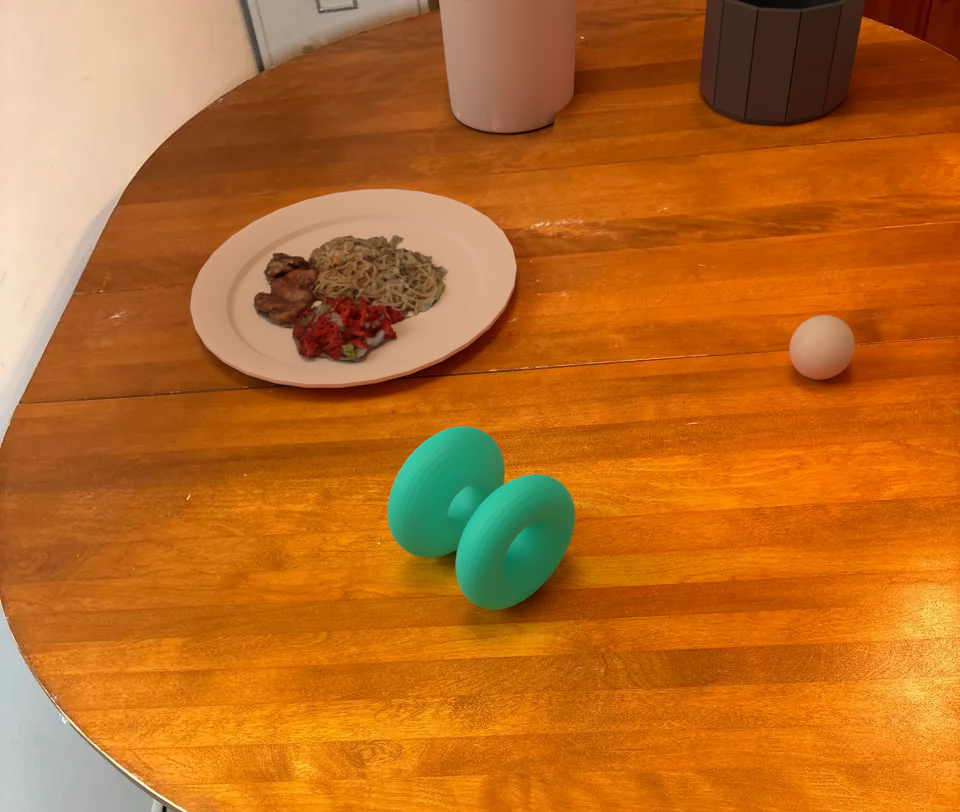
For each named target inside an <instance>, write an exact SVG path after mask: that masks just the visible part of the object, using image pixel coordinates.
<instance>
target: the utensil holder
mask: <svg viewBox="0 0 960 812" xmlns="http://www.w3.org/2000/svg"><path fill="white" fill-rule="evenodd" d="M438 4H439V13H440V21H441V30H442V40H443V50H444V51H443V52H444V61H445V68H446V75H447V84H448V92H449V93H448V94H449V101H450V106H451V111H452V114H453V116H454V117H455V118H456V119H457V120H458V121H459V122H460V123H461V124H463V125H465V126H467V127H469V128H472V129H474V130H477V131H482V132H487V133H495V134H515V133H523V132H529V131H534V130H537V129H540V128H544V127H546V126H549V125H551V124H553V123H555V122H556V116H557V113H558V112H560V111H561V110H562V109H564V108H565V107H566V106H567V105H568V104H569V103H570V102H571V100H572V99H573V96H574V93H575V92H574V91H575V69H576V68H575V67H576V46H577V43H576V42H577V38H576V37H577V0H438Z"/></svg>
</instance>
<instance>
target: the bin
mask: <svg viewBox="0 0 960 812" xmlns="http://www.w3.org/2000/svg"><path fill="white" fill-rule="evenodd" d="M865 5H866V0H706V2H705V15H704V16H705V17H704V27H703V28H704V29H703V39H702V51H701V63H700V75H699V91H700V93H701V94H702V95H703V96H704V98H705V101H706V103H707V104H708V105H709V106H710V107H711V108H712V109H714V110H715V111H716V112H717V113H720V114H721V115H723V116H726V117H728V118H730V119H733V120H736V121H740V122H743V123H750V124H755V125H765V126H767V125H768V126H770V125H772V126H778V125H779V126H780V125H792V124H798V123H803V122H807V121H811V120H814V119H818V118H820V117H823V116H824V115H825V116H826V115H827V114H828V113H831V112H832V111H833V110H834V109H836V108H837V107H838V106H839V105H840V103H841V102H843V101H844V100H846V98H848V93H849V88H850V83H851V78H852V73H853V67H854V63H855V58H856V53H857V52H856V51H857V47H858V41H859V37H860V31H861V26H862V21H863V16H864V11H865Z"/></svg>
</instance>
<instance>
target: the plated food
mask: <svg viewBox="0 0 960 812" xmlns="http://www.w3.org/2000/svg"><path fill="white" fill-rule="evenodd" d="M517 271H518V267H517V261H516V257H515V252H514V247H513V246H512V244H511V242H510V241H509V239H508V237H507V235H506V234H505V232H504V230H503V229H501V228H500V227H499V226H498V225H497V224H496V223H495V222H494V221H493V220H492V219H491V218H490V217H489V216H487V215H485V214H484V213H482V212H481V211H478V210H477V209H475V208H474V207H472V206H470V205H469V204H467V203H466V204H465V203H463V202H460V201H458V200H456V199H452V198H450V197H447V196H443V195H439V194H435V193H430V192H425V191H420V190H409V189H399V188H370V189H369V188H368V189H367V188H366V189H365V188H364V189H356V190H348V191H339V192H333V193H330V194H325V195H320V196H317V197H311V198H309V199H305V200H301V201H299V202H295V203H293V204H290V205H287V206H284V207H281V208H279V209H276V210H274V211H273V212H270V213H268V214H266V215H264V216H262V217H260V218H258V219H256V220H254V221H252V222H251V223H249V224H248V225H246V226H244V227H243V228H242V229H240V230H238V231H236V232H235V233H234V234H232V235H231V236H230V237H229V238H228V239H226V240H225V241H224V242H223V243H222V244H221V245H220V246H219V247H218V248H217V249H216V250H214V251H213V252H212V254H211V255H210V257H209V258H207V261H205V263H204V265H203V266H202V267H201V268H200V270H199V272H198V274H197V277H196V279H195V281H194V284H193V286H192V289H191V298H190V303H189V304H190V305H189V309H190V313H191V317H192V322H193V327H194V330H195V332H196V333H197V335H198V336H199V338H200V339H201V341H202V343H203V344H204V346H205V348H206V349H208V350H209V351H210V352H211V353H212V354H213V355H214V356H216V358H218V359H219V360H220V361H221V362H222V363H223V364H227V365H228V366H230V367H232V368H234V369H236V370H237V371H239V372H241V373H243V374H245V375H247V376H250V377H253V378H256V379H260V380H264V381H267V382H269V383H273V384H279V385H286V386H292V387H300V388H306V389H307V388H309V389H310V388H323V389H324V388H325V389H327V388H328V389H329V388H333V389H334V388H335V389H336V388H347V387H349V388H350V387H356V386H365V385H373V384H377V383H383V382H386V381H389V380H393V379H398V378H401V377H405V376H408V375H412V374H414V373H416V372H419V371H422V370H424V369H427V368H429V367H431V366H434V365H436V364H439V363H441V362H444V361H445V360H446V359H448V358H450V357H452V356H454V355H455V354H457V353H459V352H460V351H463V350H464V349H466V348H467V347H469V346H470V345H472V344H473V343H474V342H475V341H476V340H477V339H479V338H480V337H482V335H483V334H485V333H486V332H487V331H489V330H490V329H491V328H492V326H493V325H494V324H495V322H496V321H497V320H498V319H499V317H500V316H501V315H502V314H503V312H504V311H505V310H506V308H507V306H508V304H509V302H510V300H511V297H512V295H513V293H514V291H515V289H516V288H515V287H516V281H517Z"/></svg>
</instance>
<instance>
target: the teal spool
mask: <svg viewBox="0 0 960 812" xmlns="http://www.w3.org/2000/svg"><path fill="white" fill-rule="evenodd" d="M505 475H506V467H505V461H504V456H503V453H502V450H501V449H500V447H499V445H498V443H497V442H496V440H494V438H493V437H492V436H491V435H490V434H488V433H487V432H486V431H484V430H482V429H480V428H477V427H473V426H467V425H459V426H453V427H448V428H446V429H443V430H441V431H439V432H437V433H435V434H433V435H432V436H430V437H428V438H427V439H426V440H424V441H423V442H422V443H421V444H420V445H418V446H417V447H416V448H415V449H414V451H413V452H412V453H411V454H410V455H409V456H408V458H407V459H406V460H405V462H403V465H402V466H401V468H400V469H399V471H398V472H397V475H396V477H395V478H394V481H393V483H392V485H391V486H392V487H391V489H390V493H389V496H388V503H387V523H388V527H389V529H390V533H391V536H392V538H393V539H394V540H395V542H396V543H397V544H398V546H399V547H400V548H402V550H404V551H405V552H406V553H409V554H411V555H413V556H416V557H420V558H429V559H431V558H438V557H443V556H446V555H449V554H451V553H453V552H456V556H455V564H454V565H455V576H456V580H457V584H458V587H459V588H460V591H461V592H462V594H463V595H464V596H465V598H466V599H467V600H468V601H470V602H471V603H472V604H473V605H475V606H476V607H479V608H481V609H484V610H493V611H495V610H496V611H497V610H504V609H507V608H511V607H513V606H516V605H517V604H520V603H522V602H523V601H525V600H527V599H528V598H530V597H531V596H532V595H534V594H535V593H536V592H537V591H538V590H539V589H540V588H541V587H542V586H544V584H545V583H546V582H547V581H548V580H549V578H550V577H551V576H552V575H553V574H554V573H555V571H556V569H557V568H558V566H559V565H560V564H561V561H562V560H563V559H564V556H565V554H566V553H567V551H568V548H569V546H570V544H571V540H572V538H573V534H574V529H575V525H576V507H575V502H574V499H573V497H572V495H571V492H570V491H569V489H568V488H567V487H566V486H565V485H564V483H562V482H561V481H560V480H558V479H556V478H555V477H552V476H550V475H547V474H539V473H533V474H532V473H531V474H526V475H522V476H518V477H515V478H513V479H511V480H509V481H507V482H506V483H505Z"/></svg>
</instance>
